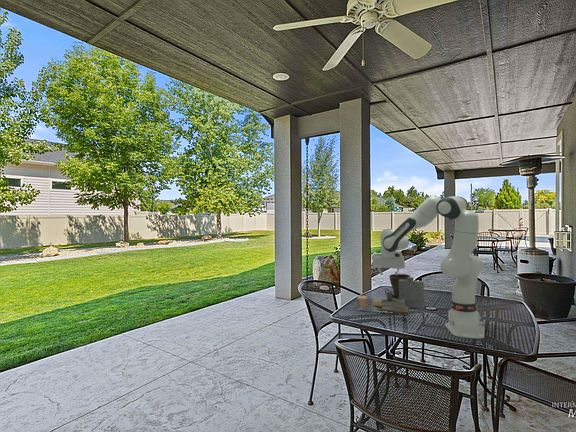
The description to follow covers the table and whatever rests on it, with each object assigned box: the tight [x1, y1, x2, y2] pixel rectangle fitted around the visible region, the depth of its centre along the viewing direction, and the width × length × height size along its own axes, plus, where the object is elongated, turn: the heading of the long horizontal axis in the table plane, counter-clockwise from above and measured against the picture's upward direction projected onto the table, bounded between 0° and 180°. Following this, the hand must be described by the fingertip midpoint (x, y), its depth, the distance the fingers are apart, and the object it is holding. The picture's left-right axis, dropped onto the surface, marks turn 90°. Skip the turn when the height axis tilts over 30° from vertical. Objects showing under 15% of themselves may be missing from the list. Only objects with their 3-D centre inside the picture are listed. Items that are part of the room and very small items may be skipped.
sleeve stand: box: [369, 298, 409, 316], centre depth 206 cm, size 14×32×7 cm, turn 68°
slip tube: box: [371, 291, 393, 307], centre depth 205 cm, size 3×16×9 cm, turn 68°
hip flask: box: [398, 276, 426, 309], centre depth 209 cm, size 16×4×20 cm, turn 57°
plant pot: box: [388, 273, 411, 298], centre depth 233 cm, size 15×15×16 cm
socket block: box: [357, 295, 368, 307], centre depth 211 cm, size 6×6×6 cm
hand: (388, 274), depth 204 cm, fingers open, 8 cm apart
